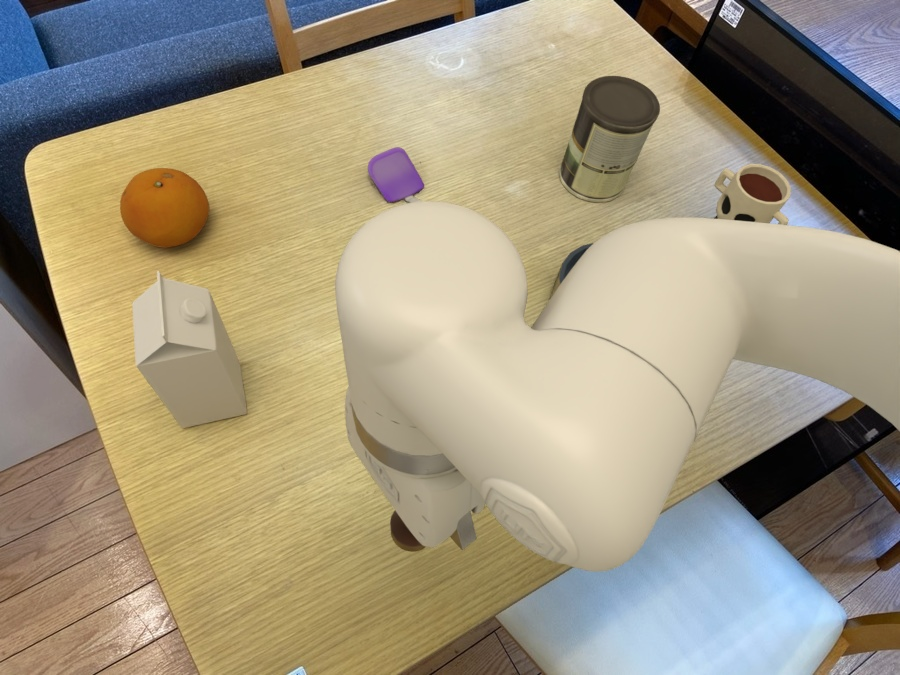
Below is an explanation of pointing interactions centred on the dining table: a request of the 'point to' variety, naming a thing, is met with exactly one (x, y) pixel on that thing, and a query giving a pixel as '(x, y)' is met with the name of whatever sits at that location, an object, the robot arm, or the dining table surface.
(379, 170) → the spatula
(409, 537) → the brown wooden pestle
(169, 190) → the fruit
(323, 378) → the dining table surface
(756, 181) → the character mug
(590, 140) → the coffee can
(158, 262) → the dining table surface
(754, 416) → the dining table surface
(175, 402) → the milk carton
